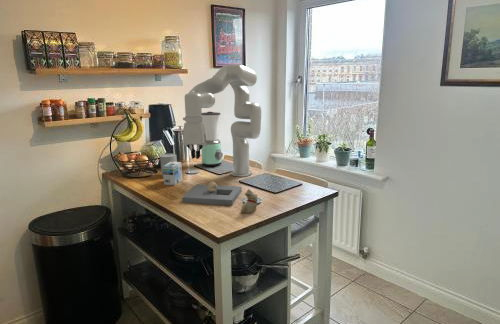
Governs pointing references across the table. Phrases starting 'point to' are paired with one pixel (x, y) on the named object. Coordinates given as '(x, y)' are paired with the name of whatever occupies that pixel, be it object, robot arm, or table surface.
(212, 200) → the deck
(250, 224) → the table surface
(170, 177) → the light bulb box
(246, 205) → the chocolate bunny
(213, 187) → the ball
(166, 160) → the grey piece
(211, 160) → the mint green blender
